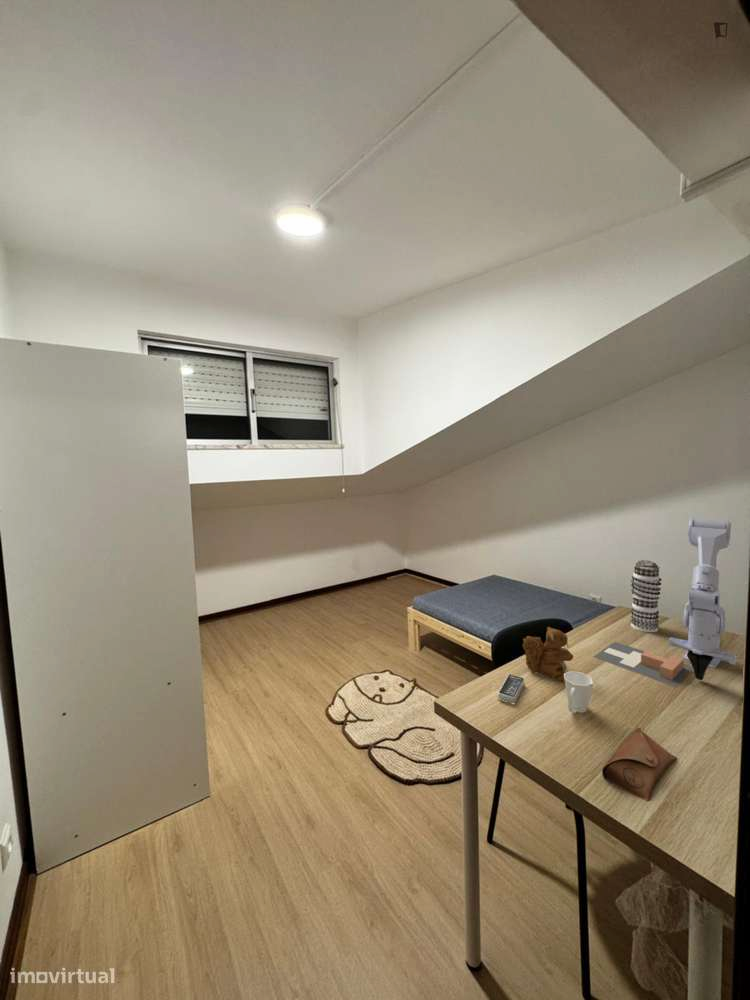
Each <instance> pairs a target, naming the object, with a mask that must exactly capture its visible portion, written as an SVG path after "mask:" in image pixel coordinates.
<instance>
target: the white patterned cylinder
mask: <svg viewBox="0 0 750 1000" xmlns="http://www.w3.org/2000/svg"><path fill="white" fill-rule="evenodd" d="M633 566H634V567H633V568H634V569H633V575H632V576H631V580H630V582H631V589H630V592H631V596H632V600H633V601H632V603H631V604H632V605H631V608H630V609H631V611H630V613H631V614H632V615H631V616H630V618H631V620H630V626H631V627H632V628H633V629H635V630H638V631H641V632H645V633H656V632H658V631H659V618H660V615H659V614H660V612H659V602H658V601H659V600H660V596H658V595H661V592H660V591H661V590H662V589H661V587H660V586H661V585H662V583H661V582H662V580H663V579H662V578H660V568H661V567H660V566H659V565H658V564H657V563H656V562H654V561H651V560H637V561H636V562H635V563H633Z"/></svg>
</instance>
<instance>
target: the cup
mask: <svg viewBox="0 0 750 1000" xmlns="http://www.w3.org/2000/svg"><path fill="white" fill-rule="evenodd" d="M564 679H565V681H564V683H565V685H564V686H565V693H566V697H567V701H568V703H567V704H568V706H567V707H568V708H567V709H568V711H569V712H571V713H572V714H576V713H581V714H582V713H585V712H588V708H587V707H589V703H590V700H591V696H592V690H593V687H594V681H593V677H592V676H589V675H587V674H585V673H583V672H580V671H575V670H574V671H573V670H569V671H568V672H564Z"/></svg>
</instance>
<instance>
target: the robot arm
mask: <svg viewBox="0 0 750 1000" xmlns="http://www.w3.org/2000/svg"><path fill="white" fill-rule="evenodd" d="M731 528H732V522H730V520H716V519H715V520H713V519H711V520H710V519H698V518H697V519H695V518H691V519H690V520H689V521H688V530H687V532H688V533H687V534H688V535H687V536H688V541H689V544H690V545H691V546H693V547H696V548H697V551H698V565H696V566H695V567H693V569H692V577H691V578H692V580H691V589H689V591H688V596H687V597H688V599H687V600H688V601H687V602H686V604H685V605H684V611H683V627H684V628H685V629H687V632H688V635H687V640H685V639H680V638H676V637H670V638H669V639H668V646H669V647H676V648H680V649H684V650H687V652H686V653H685V654H684V655H683V656H682V658H683V659H684V660H688V661H689V662H690V664H691V665H692V667H693V669H692V670H693V672H694V676H695V677H694V679H697V680H699V681H703V680H704V678H705V673H706V671H707V669H708V667H711V668H713V669H715V668H717V666H718V665H719V664H720V663H721V661H724V662H727V663H729V665H734V666H735V665H736V663H737V657H738V656H737V655H735V654H732V653H730V652H727V651H724V650H722V649H720V642H721V641H720V640H721V639H720V638H721V637H720V636H723V635H725V634H726V633H725V630H726V611H725V609H724V608H723V607H722V606H720V600H721V599H720V598H721V596H720V595H721V594H720V589H719V583H720V582H719V581H720V571H719V570H718V569H717V557H718V554H719V552H720V550H722V549H727V548H728V546H729V545H730V540H731V530H732V529H731Z"/></svg>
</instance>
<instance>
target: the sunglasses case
mask: <svg viewBox="0 0 750 1000" xmlns="http://www.w3.org/2000/svg"><path fill="white" fill-rule="evenodd" d="M677 759H678V758H677V756H675V755H672V754H671V753H670V752H668V750H666V748H664V747H663V746H662V745H660V744H659V743H657V742H656V741H655V740H654V739H652V737H650V736H649V735H648V734H646V733H645V732H644V731H643V730H642V728H641V727H638V728H636V729H634V731H633V732H632V733H631V734H630V735H629V736H628V737H627V738H626V739H625V740H624V741H623V743H622V744H620V746H619V747H618V748H617V749H616V750H615V752H614V753H613V754H612V755H611V757H610V758H609V759H608V761H607V762H606V764H605V765H604V766H603V767H602V770H601V771H602V773H601V774H602V777H603V778H604V780H607V781H609V782H610V783H612V784H614V785H615V786H618V787H619V788H621V789H623V790H625V791H627V792H628V793H630V794H632V795H634V796H636V797H638V798H640V799H642V800H644V801H645V802H649V801H650V800H651V797H652V794H653V791H654V790H655V789H654V788H656V786H657V784H658V783H659V781H660V780H661V778H662V776H663V775H664V774H665V773H666V771H667V769H668V768H669V767H670V766H671V765H672V764H673V763H674V762H675V761H676V760H677Z"/></svg>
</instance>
